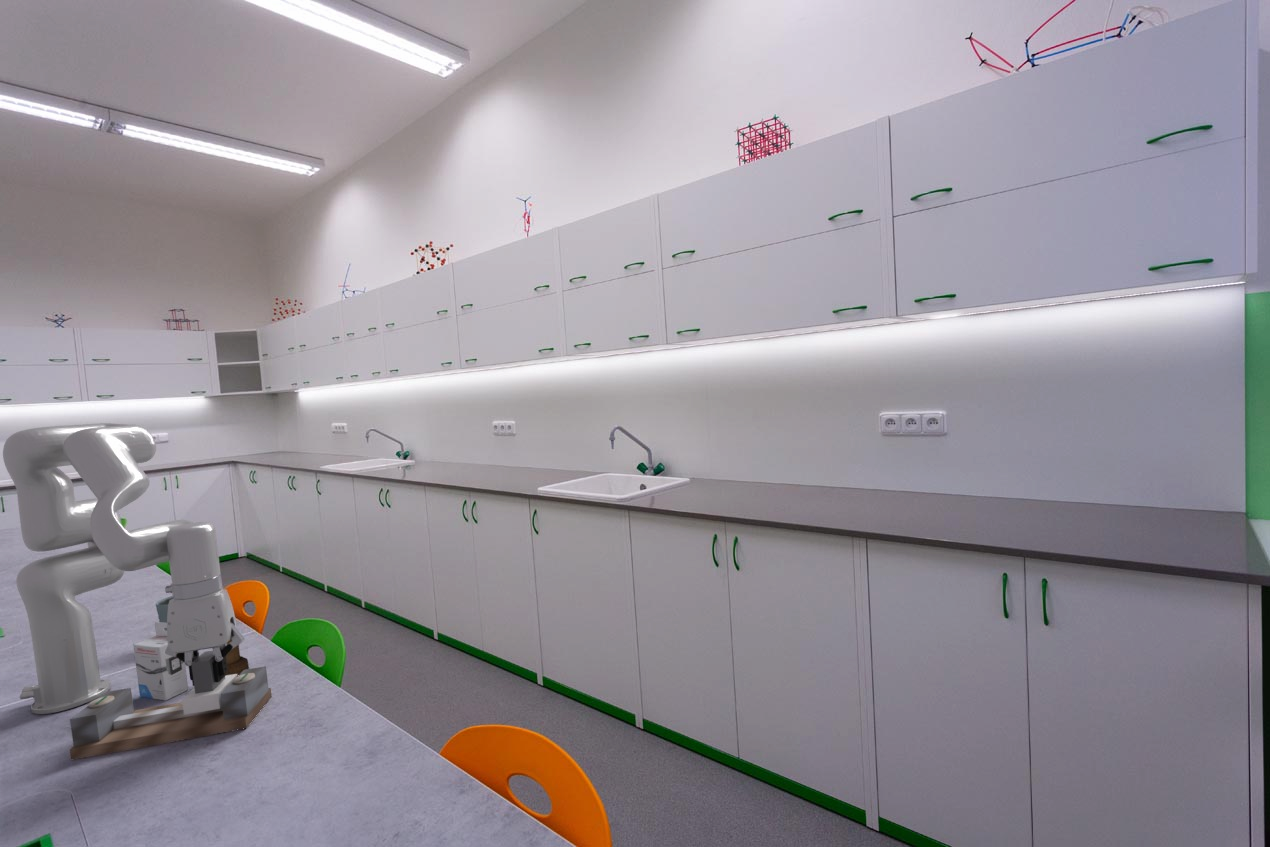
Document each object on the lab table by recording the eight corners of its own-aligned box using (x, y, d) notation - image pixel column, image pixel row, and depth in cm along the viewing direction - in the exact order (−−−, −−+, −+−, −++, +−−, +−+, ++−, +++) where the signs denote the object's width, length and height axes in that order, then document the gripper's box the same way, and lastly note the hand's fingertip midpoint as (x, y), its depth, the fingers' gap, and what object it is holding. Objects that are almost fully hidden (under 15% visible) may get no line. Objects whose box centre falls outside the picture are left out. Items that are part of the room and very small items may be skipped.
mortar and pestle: (230, 681, 130) (221, 602, 129) (206, 680, 132) (196, 602, 131) (255, 667, 137) (246, 591, 136) (232, 666, 138) (223, 591, 137)
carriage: (183, 714, 109) (177, 667, 109) (205, 693, 117) (199, 649, 117) (220, 708, 111) (214, 662, 110) (239, 688, 118) (233, 644, 118)
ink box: (138, 697, 126) (129, 630, 125) (163, 686, 131) (154, 621, 130) (165, 701, 123) (156, 633, 123) (189, 689, 128) (181, 623, 127)
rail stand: (71, 760, 104) (65, 718, 104) (115, 723, 116) (110, 686, 115) (246, 728, 110) (241, 689, 109) (271, 696, 122) (267, 661, 121)
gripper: (136, 601, 107) (150, 698, 108) (236, 587, 111) (248, 682, 112) (160, 588, 114) (172, 679, 116) (253, 575, 118) (264, 664, 119)
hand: (209, 679), depth 114 cm, fingers closed on carriage, 3 cm apart
